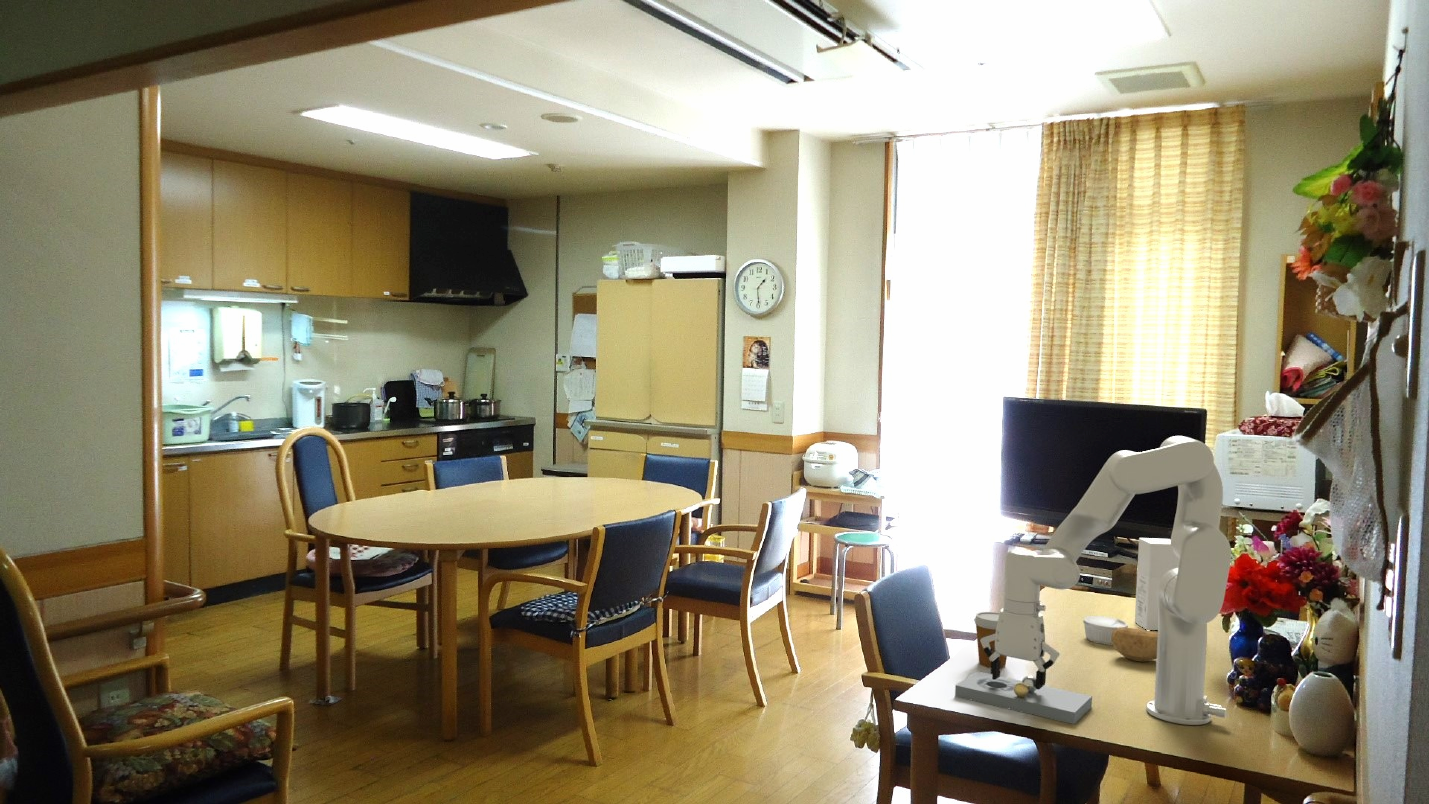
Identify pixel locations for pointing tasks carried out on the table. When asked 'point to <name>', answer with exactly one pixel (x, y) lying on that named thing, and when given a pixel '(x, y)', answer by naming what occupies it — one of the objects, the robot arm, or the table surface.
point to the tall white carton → (1151, 578)
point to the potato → (1135, 643)
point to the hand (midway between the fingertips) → (1017, 682)
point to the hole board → (1038, 702)
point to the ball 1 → (1021, 690)
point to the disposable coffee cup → (986, 627)
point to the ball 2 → (1030, 683)
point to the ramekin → (1101, 628)
